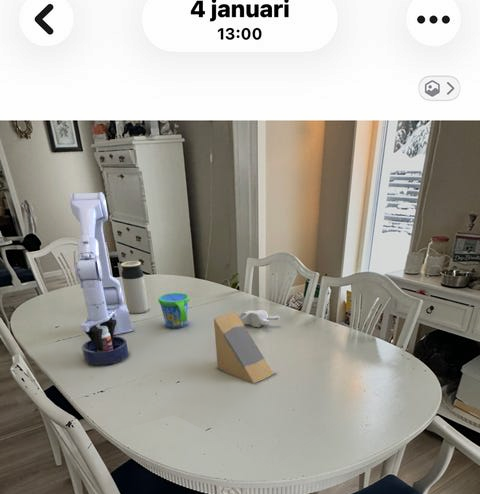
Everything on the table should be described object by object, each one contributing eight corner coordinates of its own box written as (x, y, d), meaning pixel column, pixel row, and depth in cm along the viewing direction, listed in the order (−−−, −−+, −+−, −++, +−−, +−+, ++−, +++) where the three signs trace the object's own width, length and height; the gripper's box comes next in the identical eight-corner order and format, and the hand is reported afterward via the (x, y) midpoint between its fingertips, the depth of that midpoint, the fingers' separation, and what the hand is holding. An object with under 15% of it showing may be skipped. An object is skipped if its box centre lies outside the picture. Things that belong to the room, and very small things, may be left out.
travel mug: (152, 309, 186) (145, 262, 176) (138, 315, 180) (131, 266, 170) (137, 306, 189) (130, 260, 180) (123, 312, 184) (115, 264, 174)
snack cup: (197, 329, 164) (194, 300, 159) (168, 334, 161) (164, 305, 155) (184, 316, 176) (181, 289, 171) (157, 321, 173) (153, 293, 168)
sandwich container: (254, 384, 126) (252, 330, 118) (216, 368, 136) (213, 318, 128) (275, 373, 131) (275, 321, 123) (237, 359, 141) (235, 310, 133)
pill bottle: (113, 356, 143) (107, 329, 139) (97, 357, 143) (91, 331, 138) (114, 350, 147) (109, 324, 143) (99, 351, 147) (93, 325, 142)
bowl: (121, 346, 153) (118, 333, 151) (134, 359, 143) (132, 345, 141) (80, 355, 148) (77, 341, 146) (91, 370, 138) (87, 355, 136)
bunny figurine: (251, 306, 171) (282, 309, 161) (252, 320, 173) (283, 324, 163) (232, 313, 165) (263, 316, 155) (234, 327, 168) (265, 331, 158)
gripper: (99, 294, 143) (108, 337, 151) (68, 308, 132) (79, 353, 140) (118, 296, 141) (126, 339, 148) (88, 310, 130) (98, 356, 137)
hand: (104, 346), depth 144 cm, fingers closed on pill bottle, 5 cm apart
